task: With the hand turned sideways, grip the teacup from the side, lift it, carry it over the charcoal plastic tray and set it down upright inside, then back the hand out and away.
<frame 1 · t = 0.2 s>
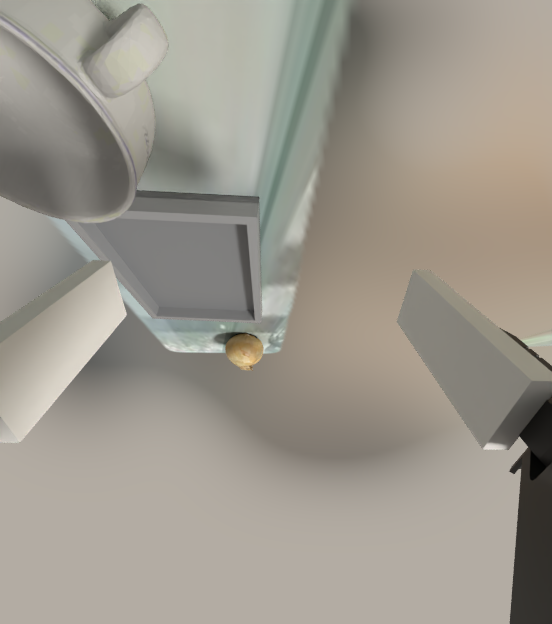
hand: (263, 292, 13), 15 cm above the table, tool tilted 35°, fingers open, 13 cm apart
onion: (245, 336, 60), on the table
teacup: (95, 53, 17), on the table
tray: (192, 266, 37), on the table
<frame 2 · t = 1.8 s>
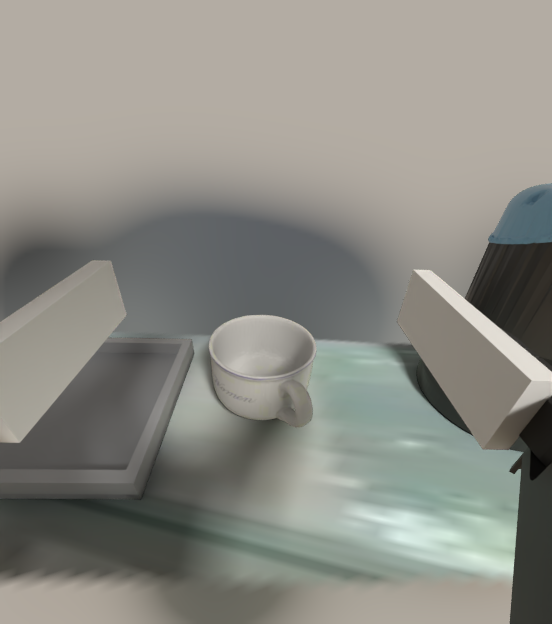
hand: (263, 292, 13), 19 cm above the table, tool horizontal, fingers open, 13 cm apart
teacup: (266, 405, 31), on the table
tray: (62, 406, 30), on the table
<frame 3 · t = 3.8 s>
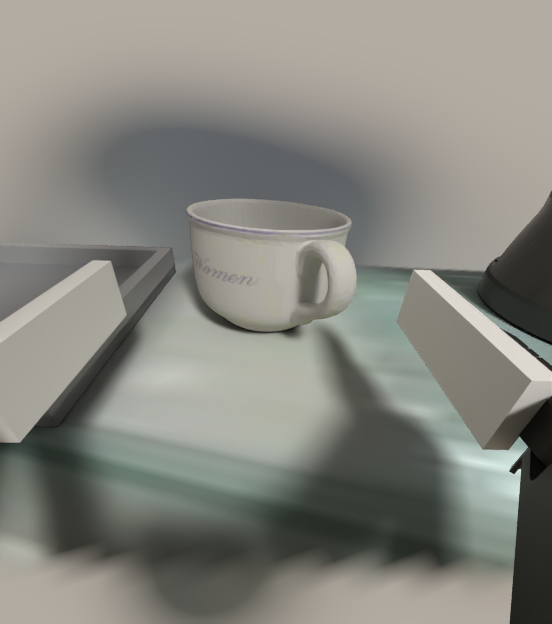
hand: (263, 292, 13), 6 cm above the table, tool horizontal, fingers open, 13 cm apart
teacup: (273, 321, 22), on the table
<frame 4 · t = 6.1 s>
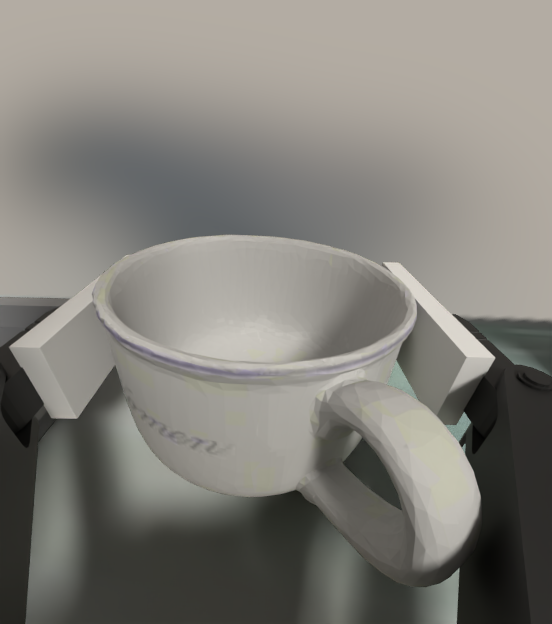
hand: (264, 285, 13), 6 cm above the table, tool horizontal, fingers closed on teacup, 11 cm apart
teacup: (268, 440, 13), on the table, touching gripper
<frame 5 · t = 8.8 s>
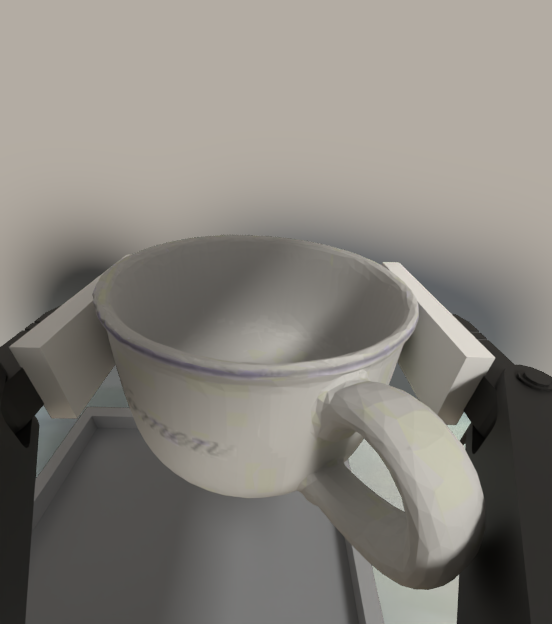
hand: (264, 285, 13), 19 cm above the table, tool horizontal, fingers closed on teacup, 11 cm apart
teacup: (269, 440, 13), point 13 cm above the table, touching gripper
tray: (192, 533, 20), on the table
when the fingers open (8 cm above the table, at t = 11.7 s): teacup drops 2 cm, resting on tray.
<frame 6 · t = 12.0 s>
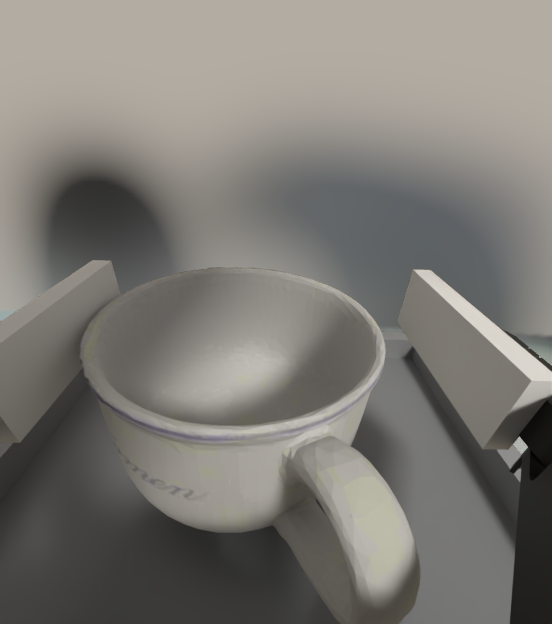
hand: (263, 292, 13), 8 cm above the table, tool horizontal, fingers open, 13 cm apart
teacup: (252, 467, 14), point 1 cm above the table, touching tray
tray: (259, 470, 14), on the table
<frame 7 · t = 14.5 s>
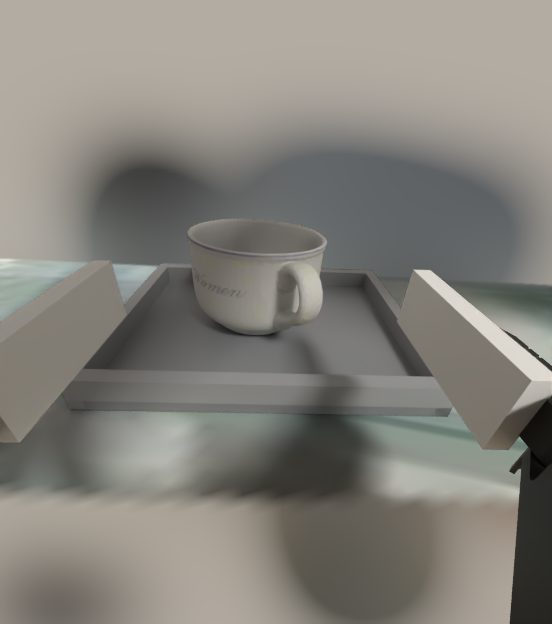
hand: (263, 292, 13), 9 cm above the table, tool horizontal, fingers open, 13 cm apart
teacup: (261, 326, 25), point 1 cm above the table, touching tray
tray: (265, 330, 25), on the table
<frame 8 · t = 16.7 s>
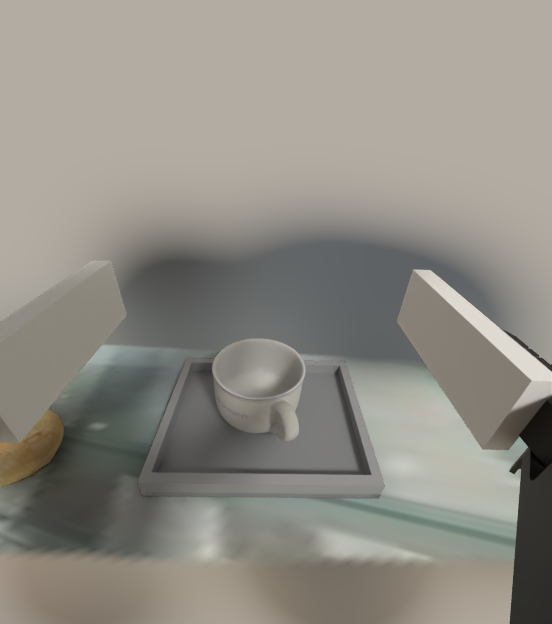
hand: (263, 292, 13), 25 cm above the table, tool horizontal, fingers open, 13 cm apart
onion: (29, 459, 31), on the table
teacup: (261, 419, 35), point 1 cm above the table, touching tray
tray: (264, 421, 36), on the table
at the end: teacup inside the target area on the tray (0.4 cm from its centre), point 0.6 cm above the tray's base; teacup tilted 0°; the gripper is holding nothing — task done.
